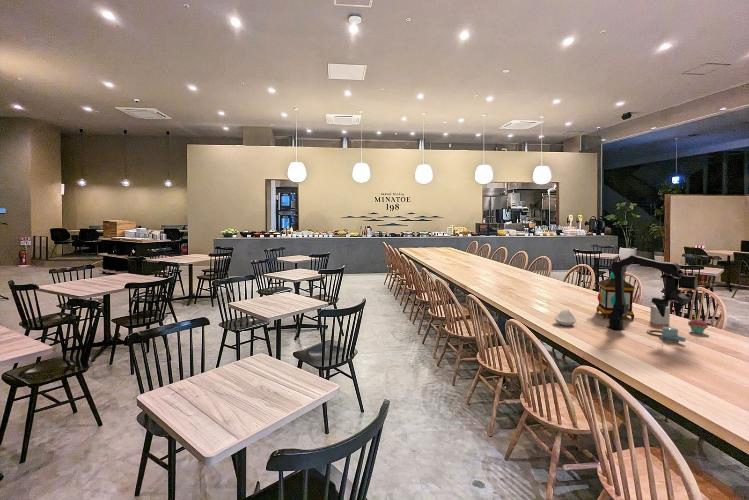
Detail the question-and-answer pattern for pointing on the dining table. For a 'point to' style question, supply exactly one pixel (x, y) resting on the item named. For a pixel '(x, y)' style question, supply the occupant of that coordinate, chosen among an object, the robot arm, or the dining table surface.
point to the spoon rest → (565, 318)
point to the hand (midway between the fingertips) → (669, 316)
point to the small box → (659, 315)
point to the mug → (671, 334)
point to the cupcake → (697, 325)
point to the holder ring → (653, 333)
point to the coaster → (667, 340)
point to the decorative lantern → (613, 296)
